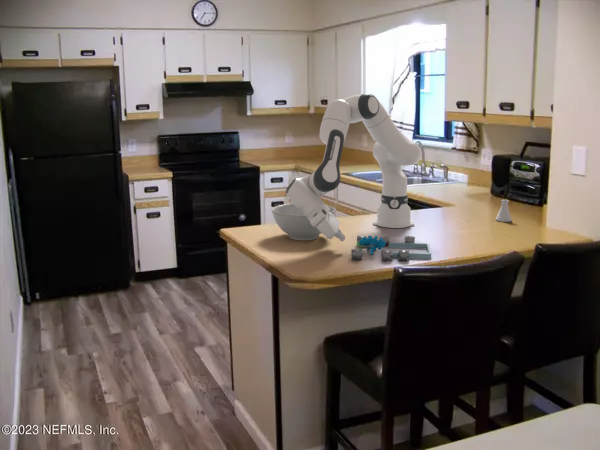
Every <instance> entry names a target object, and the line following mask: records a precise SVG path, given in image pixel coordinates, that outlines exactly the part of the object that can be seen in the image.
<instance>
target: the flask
mask: <svg viewBox="0 0 600 450" xmlns="http://www.w3.org/2000/svg"><path fill="white" fill-rule="evenodd" d="M500 200H501V206H500V209H499V211H498V213H497V216H496V218H495V219H494V220H495V221H497V222H501V223H509V222H512V221H513V220H512V215H511V213H510V209H509V201H510V200H508V199H500Z"/></svg>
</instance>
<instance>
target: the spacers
mask: <svg viewBox="0 0 600 450" xmlns="http://www.w3.org/2000/svg"><path fill="white" fill-rule="evenodd" d="M363 237H366V238H368V236H367V235H362V234H361V235H357V236H356V243H357V242H359V243H360V239H362V240H363ZM380 238H382V239H383V241H385V247H384V248H388V247H390V242H391V241H390V239H391V237H390V236H388V235H380V236H379V238H378V240H379V239H380ZM415 240H416V237H415V236H413V235H407V236H404V243H416V242H415ZM393 252H394V251H393V250H391V249H381V255H380V256H381V257H380V260H381V262H385V263H388V262H393V258H392V253H393ZM397 252H398V258H397V261H398V262H405V263H406V262H409V259H410V258H409V253H410V250H408V249H398V250H397ZM350 254H351V257H350V258H351V261H356V262H357V261H362V260H363V249H359V248H352V249H351V253H350Z"/></svg>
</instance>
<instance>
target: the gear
mask: <svg viewBox="0 0 600 450" xmlns="http://www.w3.org/2000/svg"><path fill="white" fill-rule="evenodd" d="M379 238H380V237H379ZM379 238H378V236H377V235H374V237H372V235H368V236H367V238H366V237H363V240H362V239H360V243H359V242H357V241H356V244H355V245H356V246H357V247H358V248H357V249H362V250H367V251H370V253H369V254H370V256H373V255H374V252H375V251H377V250H381V251H382V250H383V248H386V247H385V241H383V239H382V238H380V239H379Z"/></svg>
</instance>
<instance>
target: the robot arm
mask: <svg viewBox="0 0 600 450" xmlns="http://www.w3.org/2000/svg"><path fill="white" fill-rule="evenodd" d="M358 122H359V123H360V122H362V123H363V125H364V127H365V128H366V130H367V132H368V133H369V135H370V137H371V138H372V140H373V141H375V143H374V144H373V146H372V156H373V158H374V159H375V161H377V163H378V166H379V169H380V172H381V176H382V192H381V196H380V202H381V204H379V205H378V207H377V210H376V213H377V214H376V219H375V220H373V222H372V225H374V226H379V227H382V228H390V229H402V228H409V227H414V226H415V223H414V222H413V221H412V220H411V212H412V211H411V207H410V206H409V205H408V200H409V196H408V178H407V177H408V176H407V175H406V174H405V173H404V171H403V169H402V166H403V167H408V166H409V167H410V166H414V165H415V164H417V163H418V162H419V160H420V158H421V149H420V147H419V145H418V144H416V143H415V142H413V141H412V140H410V139H409V138H408V137H407V136H406V135H405V134H404V133H403V132H402V131H401V130H399V128H398V127H397V125H395V123H394V121H393V120H392V118H391V117H390V115H389V113H388V112H387V110H386V109H385V107H384V106H383V104H382V103H381V102H380V100H379V99H378V98H377V97H376V96H375V95H374V94H373V93H366V92H365V93H362V94H355V95H350V96H348V97H347V96H346V97H344V98H339V99H337V98H336V99H333V100H332V101H330V102H329V104H328V106H327V107H326V109H325V112H324V114H323V116H322V119H321V123H320V127H319V139H320V142H322V143H323V144H324V145H326V146H325V150H324V155H323V159H322V162H321V164H320V165H319V166H318V167H317V168H316V169H315V170H314V172H312V173H310V174H309V175H306V176H302V177H296V178H294V179H292V181H291V182H290V183H289V184H288V186H287V187H286V189H285V194H286V197H287V198H288V200H289V201H290V202H291V204H294V205H295V206H296V207H297V208H298V209H299V210H301V211H302V212H303V213H304V215H305V217H306V218H307V219H308V220H309V221H310V224H311V225H312V226H313V227H315V226H316V228H317V229H318V230H319V231H320V232H321V234H322V235H324V236H325V238H327V239H329V240H332V239H333V238H334V237H336V238H337V239H338V240H339V241H340V242H344V241H345V240H346V236H345V234H344V233H343V232H342V231H341V229H340V228H339V227H340V224H341V222H340V220H339V219H338V218H337V217H336V216H335V215H333V214H331V213H330V212H329V210H330V208H329V207H328V206H329V205H328V206H327V204H326V203H325V202H324V201H323V200H322V199H321V198H322V197H324V196H326V195H328V194H329V193H330V192H332V191H334V190H336V189H337V188H338V186H339V185H340V183H341V178H342V177H341V171H340V162H341V158H342V152H343V148H344V144H345V141H346V138H347V134H348V131H349V128H350V124H356V123H358Z"/></svg>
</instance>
